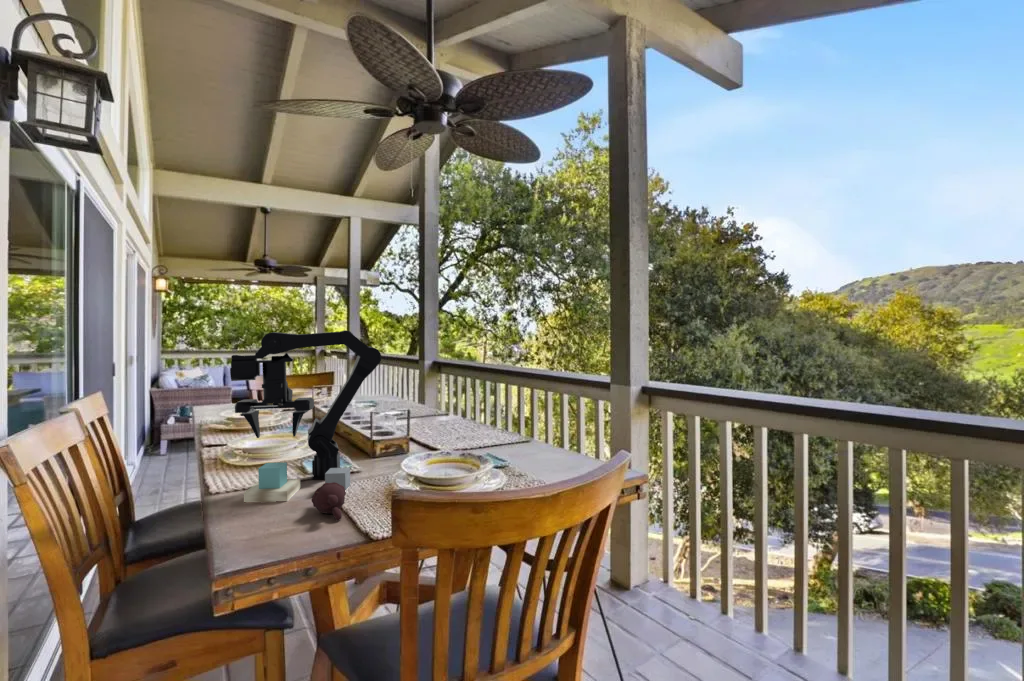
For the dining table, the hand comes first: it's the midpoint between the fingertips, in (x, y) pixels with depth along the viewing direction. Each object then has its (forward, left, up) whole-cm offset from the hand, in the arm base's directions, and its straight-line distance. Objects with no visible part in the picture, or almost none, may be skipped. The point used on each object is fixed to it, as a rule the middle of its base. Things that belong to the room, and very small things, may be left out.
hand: (276, 437), depth 140 cm
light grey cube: (-18, +8, -12) cm, 23 cm away
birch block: (-3, +11, -13) cm, 17 cm away
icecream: (-20, +24, -13) cm, 34 cm away
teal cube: (-3, +11, -10) cm, 15 cm away
